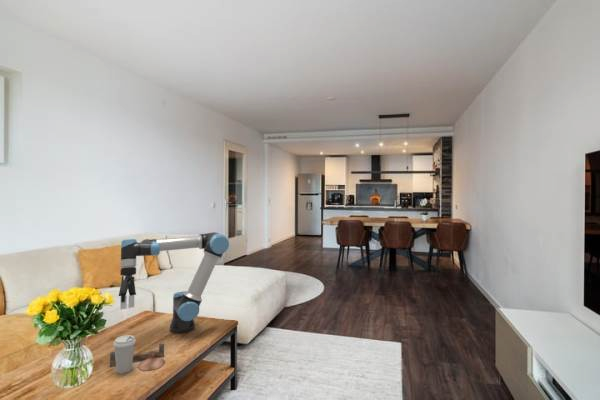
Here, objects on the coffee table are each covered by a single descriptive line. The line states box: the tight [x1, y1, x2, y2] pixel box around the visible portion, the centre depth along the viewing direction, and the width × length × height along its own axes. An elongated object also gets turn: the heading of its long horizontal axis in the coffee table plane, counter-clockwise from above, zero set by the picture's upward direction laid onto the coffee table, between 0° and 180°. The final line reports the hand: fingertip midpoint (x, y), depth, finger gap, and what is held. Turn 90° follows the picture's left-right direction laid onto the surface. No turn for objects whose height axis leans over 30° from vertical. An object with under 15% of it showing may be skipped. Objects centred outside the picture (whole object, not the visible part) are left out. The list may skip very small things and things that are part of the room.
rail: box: [109, 343, 166, 372], centre depth 158 cm, size 24×15×6 cm, turn 118°
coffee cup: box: [112, 334, 137, 375], centre depth 154 cm, size 10×10×15 cm
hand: (127, 308), depth 170 cm, fingers open, 13 cm apart
